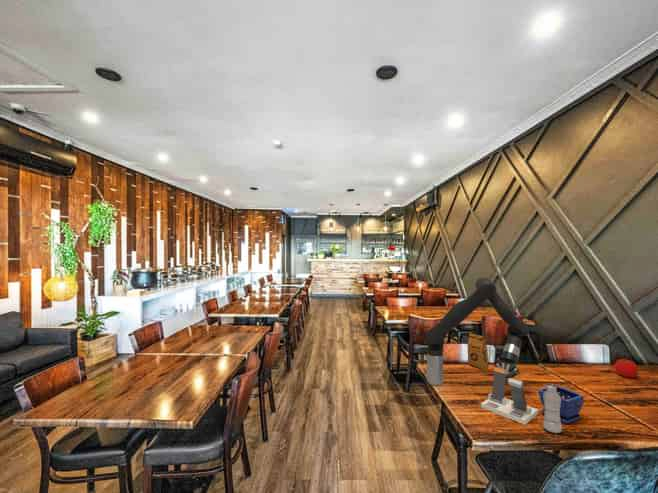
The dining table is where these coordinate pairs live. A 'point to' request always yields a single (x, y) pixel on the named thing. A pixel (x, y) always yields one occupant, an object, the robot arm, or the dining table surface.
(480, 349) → the coffee package
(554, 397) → the plastic bottle
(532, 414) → the switch unit
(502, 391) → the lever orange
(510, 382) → the lever grey
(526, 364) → the dining table surface
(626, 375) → the tomato
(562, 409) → the flower pot
